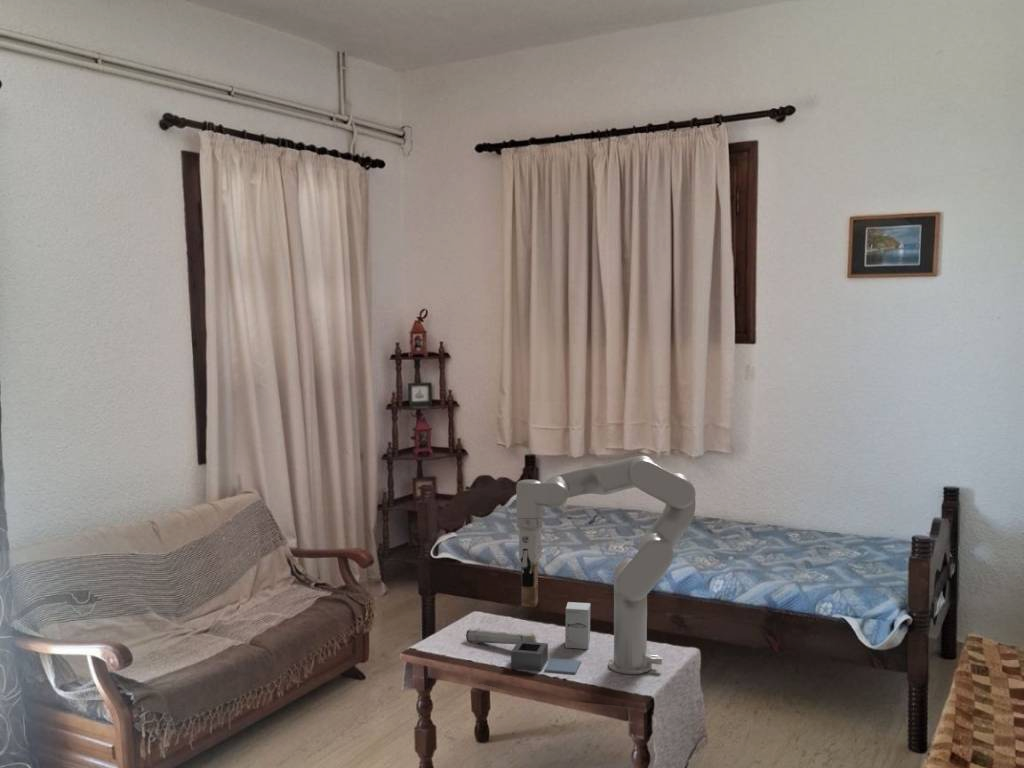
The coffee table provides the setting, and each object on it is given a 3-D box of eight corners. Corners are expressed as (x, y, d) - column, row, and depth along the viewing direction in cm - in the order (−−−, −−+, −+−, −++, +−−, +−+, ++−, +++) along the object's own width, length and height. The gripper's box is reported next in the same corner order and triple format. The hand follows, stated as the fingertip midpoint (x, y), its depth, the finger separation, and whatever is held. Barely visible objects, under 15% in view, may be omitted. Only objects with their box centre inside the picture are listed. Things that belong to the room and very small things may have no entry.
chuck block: (547, 659, 261) (547, 643, 261) (541, 671, 252) (541, 654, 252) (518, 657, 263) (518, 640, 263) (511, 668, 254) (511, 651, 254)
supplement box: (564, 648, 270) (564, 608, 270) (567, 640, 278) (567, 601, 277) (588, 649, 269) (588, 609, 268) (590, 641, 276) (590, 602, 276)
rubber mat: (580, 662, 258) (580, 660, 258) (575, 674, 250) (575, 672, 250) (551, 660, 261) (551, 658, 261) (544, 671, 252) (544, 669, 252)
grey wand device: (473, 626, 280) (541, 628, 267) (475, 647, 280) (543, 650, 267) (464, 631, 275) (532, 633, 263) (466, 652, 275) (535, 656, 263)
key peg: (539, 602, 258) (539, 558, 258) (535, 607, 254) (535, 562, 253) (523, 601, 260) (523, 557, 259) (519, 606, 255) (519, 561, 254)
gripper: (535, 529, 246) (535, 593, 247) (547, 517, 262) (548, 577, 263) (509, 528, 248) (510, 591, 249) (523, 516, 264) (524, 575, 265)
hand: (529, 583), depth 256 cm, fingers closed on key peg, 4 cm apart
